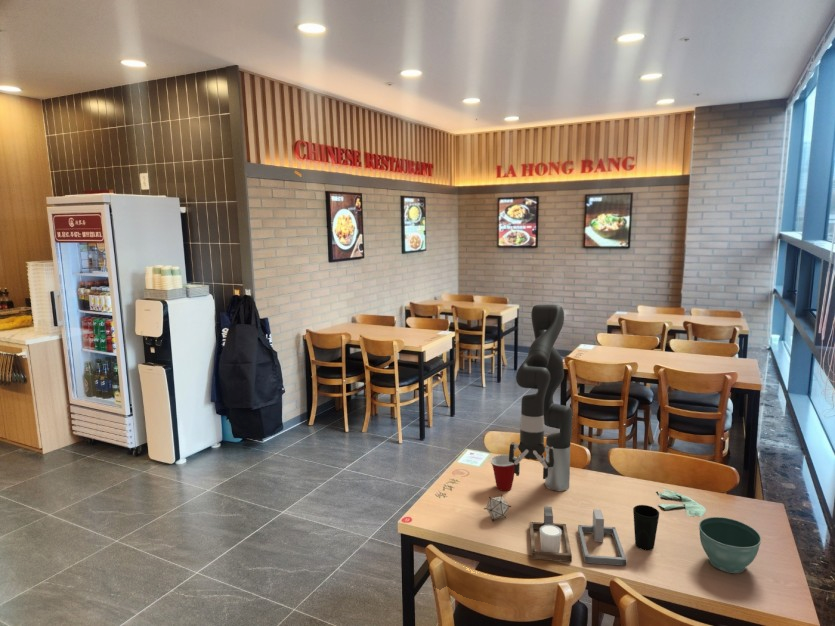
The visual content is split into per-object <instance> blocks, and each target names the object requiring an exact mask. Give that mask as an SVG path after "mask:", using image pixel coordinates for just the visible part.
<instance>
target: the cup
mask: <svg viewBox="0 0 835 626" xmlns="http://www.w3.org/2000/svg"><path fill="white" fill-rule="evenodd" d="M632 509H633V510H632V511H633V526H634V542H635V543H634V544H635V545H634V546H635V547H637V548H638V549H639V550H642V551H647V552H648V551H652V550H654V549H655V543H656V538H657V531H658V524H659V519H660V511H659V510H658V509H657V508H656V507H653V506H651V505H645V504H638V505H635V506H634V507H633V508H632Z"/></svg>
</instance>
